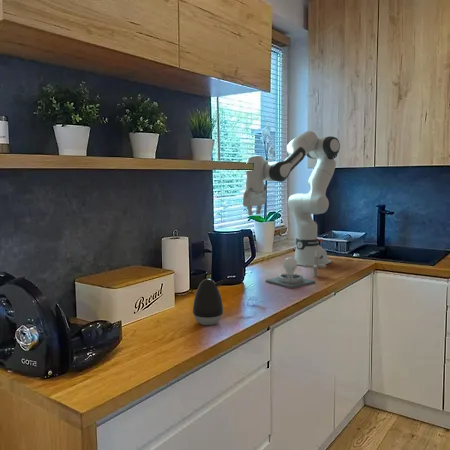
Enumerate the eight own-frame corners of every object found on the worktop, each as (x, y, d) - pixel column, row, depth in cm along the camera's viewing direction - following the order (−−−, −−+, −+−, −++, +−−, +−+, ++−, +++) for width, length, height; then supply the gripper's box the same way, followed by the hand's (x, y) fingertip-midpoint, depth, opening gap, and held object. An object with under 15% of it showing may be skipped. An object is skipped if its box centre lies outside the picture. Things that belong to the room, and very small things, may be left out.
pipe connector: (326, 279, 215) (326, 258, 214) (304, 278, 217) (305, 257, 216) (325, 274, 225) (326, 254, 224) (305, 273, 227) (305, 253, 226)
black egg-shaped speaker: (227, 326, 149) (227, 281, 148) (196, 329, 146) (196, 283, 145) (219, 316, 159) (218, 274, 157) (190, 319, 156) (189, 276, 154)
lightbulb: (293, 282, 203) (293, 258, 202) (280, 281, 207) (280, 257, 205) (299, 280, 209) (299, 256, 207) (286, 278, 212) (286, 255, 211)
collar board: (289, 276, 219) (289, 270, 219) (315, 283, 207) (315, 276, 207) (265, 281, 209) (265, 275, 209) (291, 288, 197) (291, 282, 197)
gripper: (251, 188, 219) (251, 216, 221) (268, 186, 237) (268, 213, 238) (239, 188, 222) (239, 216, 224) (257, 186, 240) (257, 212, 241)
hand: (254, 214), depth 231 cm, fingers open, 8 cm apart
